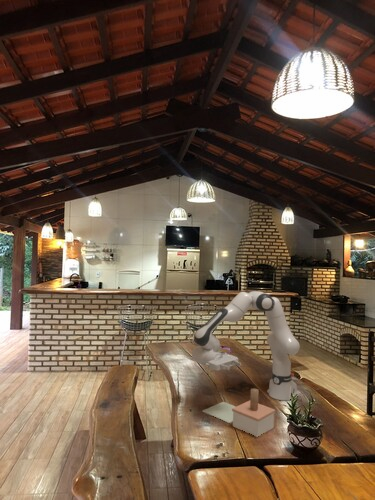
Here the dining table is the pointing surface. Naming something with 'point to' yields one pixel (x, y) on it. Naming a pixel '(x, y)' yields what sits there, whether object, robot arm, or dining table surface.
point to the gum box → (224, 349)
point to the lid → (254, 408)
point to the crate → (253, 424)
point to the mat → (221, 411)
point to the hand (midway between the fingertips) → (235, 366)
